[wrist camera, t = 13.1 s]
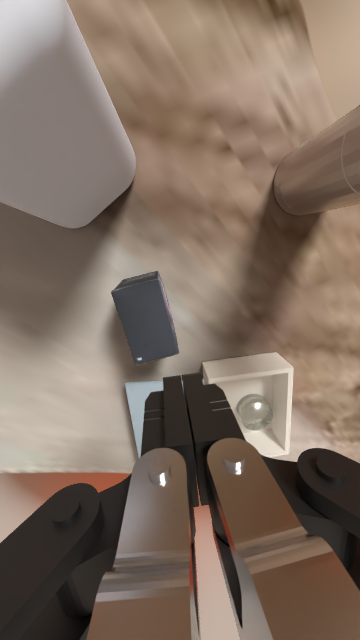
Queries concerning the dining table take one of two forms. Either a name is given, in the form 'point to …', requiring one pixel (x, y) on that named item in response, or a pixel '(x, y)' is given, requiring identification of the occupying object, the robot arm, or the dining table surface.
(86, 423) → the dining table surface
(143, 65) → the dining table surface
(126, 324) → the small box
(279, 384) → the open white box
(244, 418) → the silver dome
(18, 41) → the plastic bottle
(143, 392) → the lid
